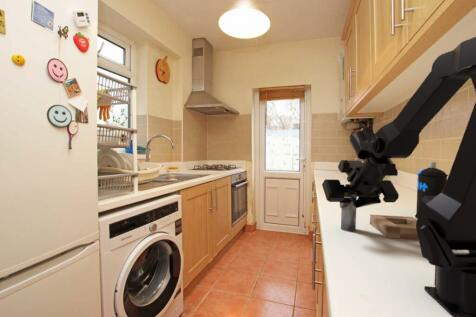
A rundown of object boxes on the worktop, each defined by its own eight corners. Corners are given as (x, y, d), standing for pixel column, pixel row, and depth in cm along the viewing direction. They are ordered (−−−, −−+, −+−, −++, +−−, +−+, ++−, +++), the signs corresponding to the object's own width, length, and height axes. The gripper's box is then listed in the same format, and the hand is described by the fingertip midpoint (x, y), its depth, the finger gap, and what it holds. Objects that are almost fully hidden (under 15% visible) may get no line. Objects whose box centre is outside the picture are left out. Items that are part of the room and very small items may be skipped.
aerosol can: (443, 218, 81) (446, 162, 80) (448, 224, 74) (451, 162, 73) (414, 214, 85) (416, 161, 85) (416, 220, 78) (418, 161, 78)
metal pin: (357, 232, 66) (358, 190, 65) (342, 231, 67) (344, 189, 66) (353, 227, 70) (354, 188, 69) (339, 226, 70) (340, 187, 70)
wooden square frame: (437, 241, 60) (438, 229, 60) (387, 237, 62) (387, 226, 62) (411, 226, 72) (411, 216, 71) (369, 223, 74) (370, 214, 74)
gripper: (392, 151, 63) (367, 185, 74) (325, 150, 63) (310, 184, 74) (414, 183, 55) (383, 216, 67) (338, 182, 55) (319, 215, 66)
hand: (347, 206), depth 69 cm, fingers closed on metal pin, 4 cm apart
